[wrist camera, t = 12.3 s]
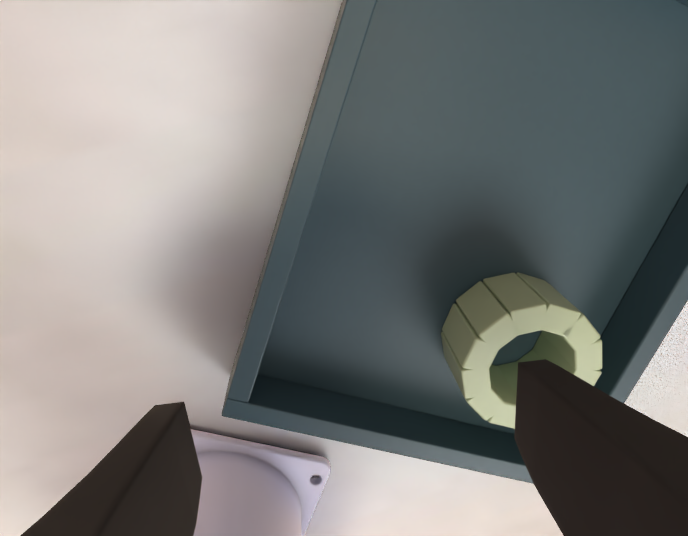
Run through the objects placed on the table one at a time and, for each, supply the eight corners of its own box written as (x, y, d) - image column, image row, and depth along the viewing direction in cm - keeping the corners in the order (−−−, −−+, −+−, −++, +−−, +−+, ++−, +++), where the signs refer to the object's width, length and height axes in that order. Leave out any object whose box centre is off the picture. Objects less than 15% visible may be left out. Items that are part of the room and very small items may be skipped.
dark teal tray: (543, 450, 24) (570, 492, 21) (229, 377, 21) (220, 416, 18) (787, 26, 17) (861, 21, 15) (388, -156, 15) (405, -196, 12)
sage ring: (531, 396, 22) (562, 440, 19) (422, 368, 21) (440, 412, 18) (586, 293, 20) (629, 326, 18) (472, 258, 19) (499, 288, 17)
